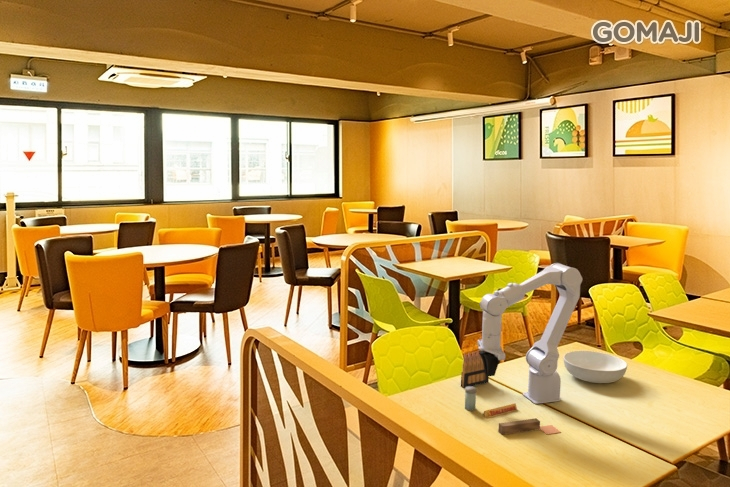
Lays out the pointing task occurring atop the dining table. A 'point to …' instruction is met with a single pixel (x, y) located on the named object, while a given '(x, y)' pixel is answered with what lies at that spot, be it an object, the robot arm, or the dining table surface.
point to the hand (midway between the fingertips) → (489, 374)
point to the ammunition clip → (473, 371)
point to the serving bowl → (594, 366)
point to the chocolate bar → (499, 410)
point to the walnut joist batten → (519, 426)
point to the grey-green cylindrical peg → (470, 398)
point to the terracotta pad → (549, 429)
